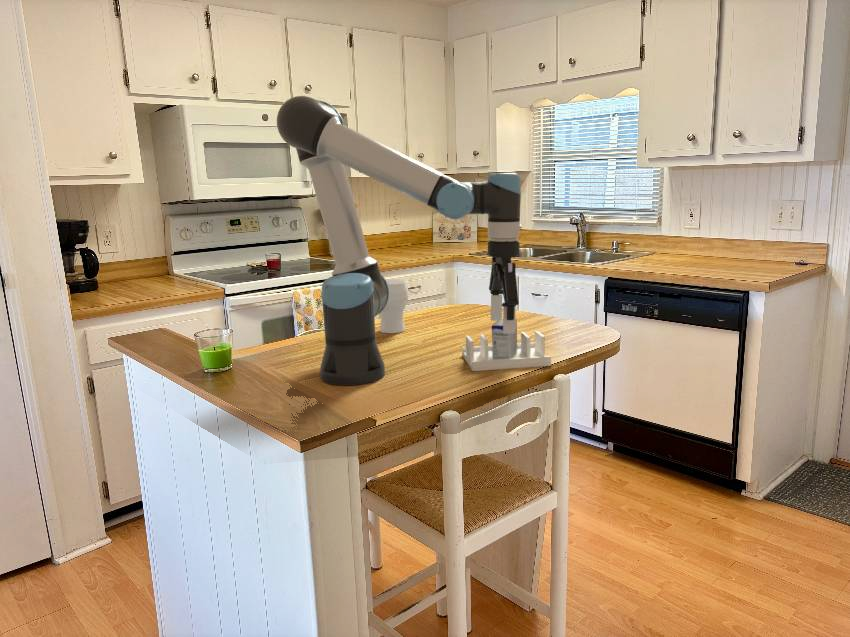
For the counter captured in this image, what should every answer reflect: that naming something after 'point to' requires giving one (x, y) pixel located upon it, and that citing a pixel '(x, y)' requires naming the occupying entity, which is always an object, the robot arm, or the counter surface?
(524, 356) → the rack
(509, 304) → the robot arm
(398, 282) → the cup
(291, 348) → the counter surface
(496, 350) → the box
